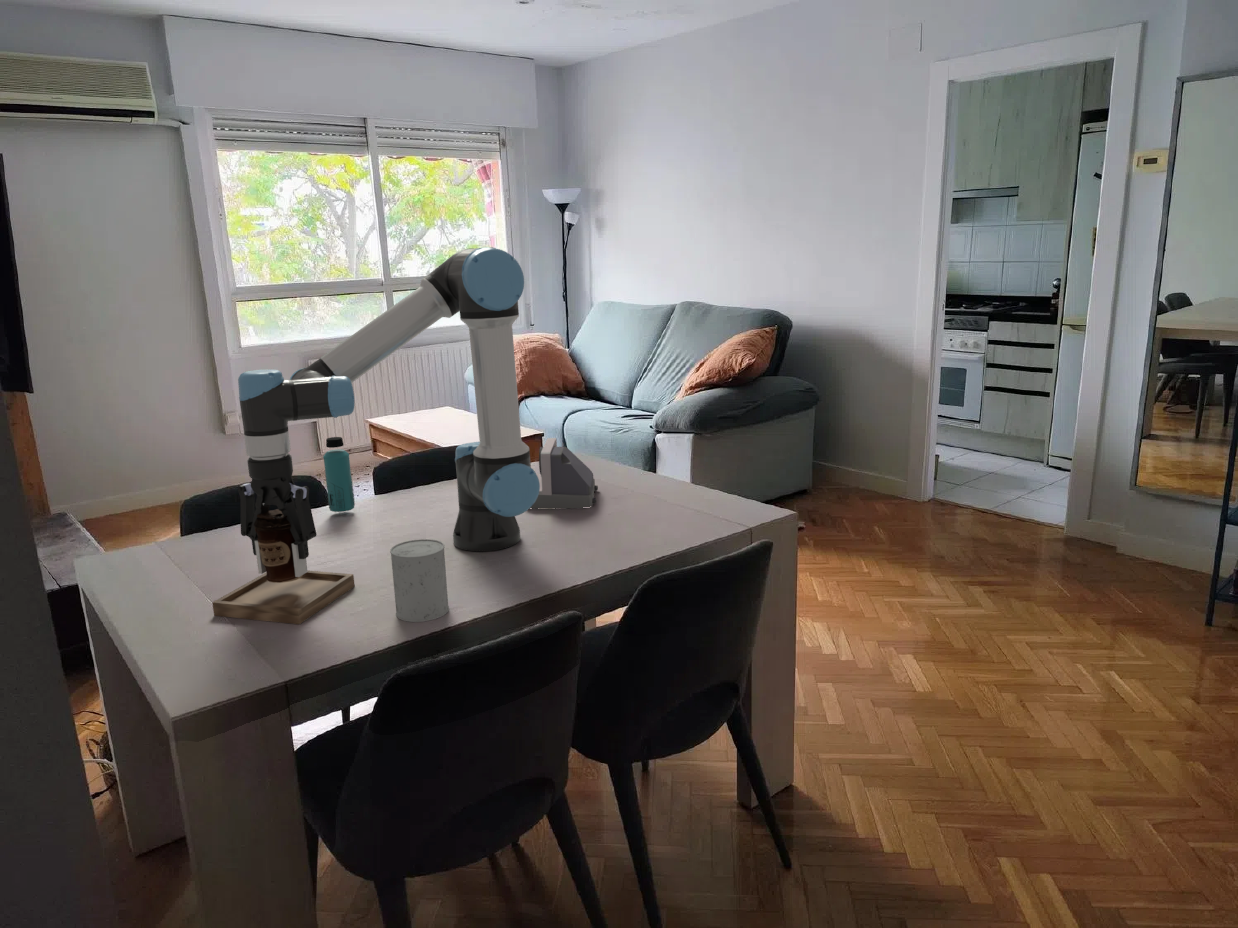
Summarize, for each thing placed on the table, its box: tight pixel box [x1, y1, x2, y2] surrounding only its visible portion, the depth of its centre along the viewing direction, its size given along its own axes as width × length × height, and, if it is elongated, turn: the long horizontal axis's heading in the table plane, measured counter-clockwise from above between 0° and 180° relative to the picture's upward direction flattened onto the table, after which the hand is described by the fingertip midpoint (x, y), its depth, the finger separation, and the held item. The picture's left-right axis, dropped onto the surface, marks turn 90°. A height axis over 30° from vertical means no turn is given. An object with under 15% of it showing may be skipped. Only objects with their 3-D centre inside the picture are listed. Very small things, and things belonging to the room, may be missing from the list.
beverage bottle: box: [322, 436, 356, 513], centre depth 212 cm, size 6×7×20 cm
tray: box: [212, 569, 356, 625], centre depth 161 cm, size 18×18×3 cm
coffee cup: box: [254, 508, 302, 583], centre depth 158 cm, size 9×8×13 cm
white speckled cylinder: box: [389, 538, 450, 623], centre depth 153 cm, size 10×10×12 cm
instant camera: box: [530, 437, 599, 510], centre depth 223 cm, size 21×21×15 cm
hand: (283, 572), depth 159 cm, fingers closed on coffee cup, 7 cm apart
